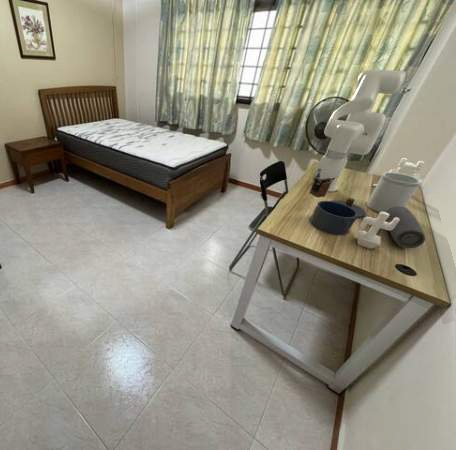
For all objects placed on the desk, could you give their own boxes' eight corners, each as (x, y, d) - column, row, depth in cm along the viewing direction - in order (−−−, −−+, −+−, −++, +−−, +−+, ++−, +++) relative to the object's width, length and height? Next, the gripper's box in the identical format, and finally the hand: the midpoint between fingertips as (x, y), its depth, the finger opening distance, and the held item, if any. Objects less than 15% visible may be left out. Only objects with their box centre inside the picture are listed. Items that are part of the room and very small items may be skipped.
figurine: (351, 235, 104) (370, 205, 95) (379, 244, 99) (401, 213, 90) (350, 243, 99) (369, 212, 91) (378, 253, 94) (401, 221, 86)
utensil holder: (362, 208, 125) (381, 176, 115) (366, 199, 134) (384, 169, 124) (399, 219, 117) (423, 186, 107) (400, 208, 126) (422, 177, 116)
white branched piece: (412, 192, 143) (435, 160, 132) (413, 200, 134) (437, 166, 123) (373, 183, 153) (391, 152, 142) (371, 190, 144) (390, 157, 133)
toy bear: (309, 193, 121) (318, 170, 114) (316, 192, 122) (326, 169, 115) (317, 197, 117) (327, 174, 110) (324, 196, 118) (335, 173, 111)
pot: (302, 218, 115) (309, 202, 110) (328, 214, 118) (336, 199, 113) (329, 236, 102) (338, 220, 98) (356, 232, 106) (366, 216, 101)
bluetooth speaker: (377, 220, 115) (389, 202, 109) (402, 226, 111) (416, 208, 106) (387, 245, 98) (401, 225, 93) (416, 253, 95) (433, 233, 89)
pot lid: (320, 203, 127) (325, 193, 124) (343, 201, 131) (349, 190, 128) (347, 220, 114) (353, 208, 111) (372, 216, 118) (379, 205, 115)
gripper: (342, 150, 112) (326, 186, 123) (313, 152, 109) (298, 189, 119) (357, 155, 106) (338, 192, 117) (326, 158, 103) (310, 196, 113)
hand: (318, 190), depth 118 cm, fingers closed on toy bear, 4 cm apart
